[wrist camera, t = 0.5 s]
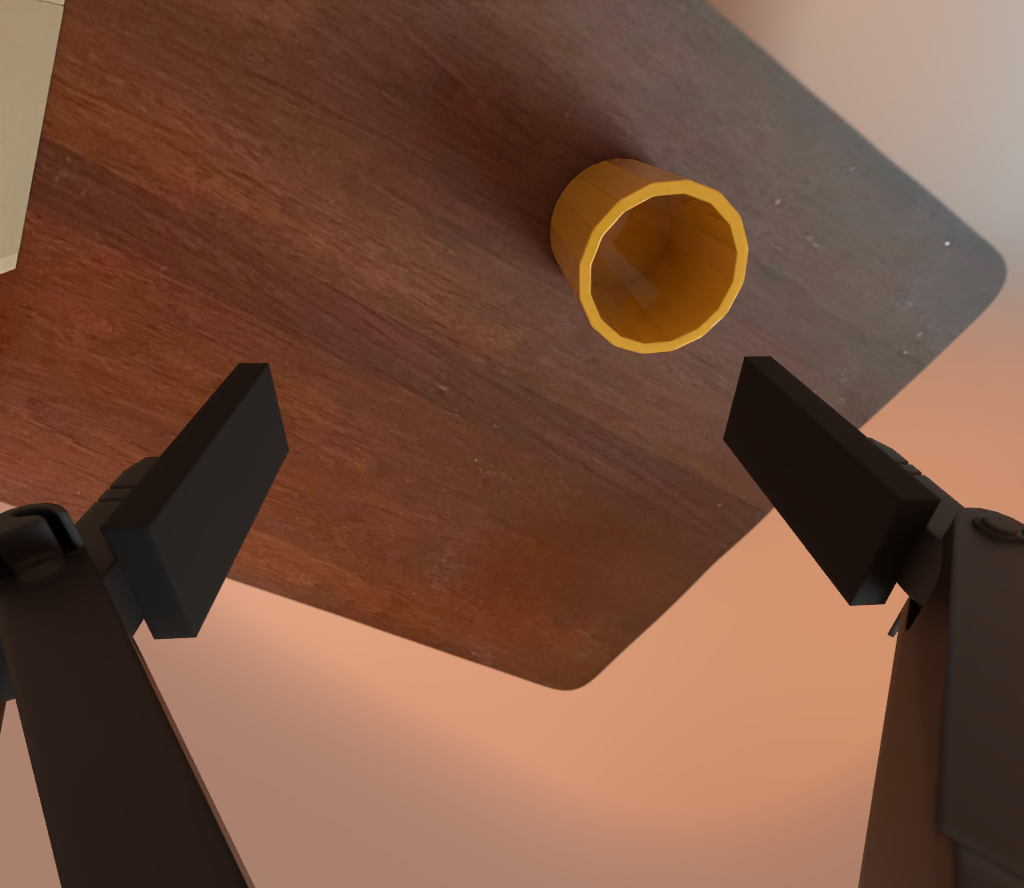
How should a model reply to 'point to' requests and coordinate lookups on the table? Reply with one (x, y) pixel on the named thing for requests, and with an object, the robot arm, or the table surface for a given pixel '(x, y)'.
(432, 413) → the table surface
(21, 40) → the shelf
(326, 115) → the table surface
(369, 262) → the table surface
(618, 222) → the cup
